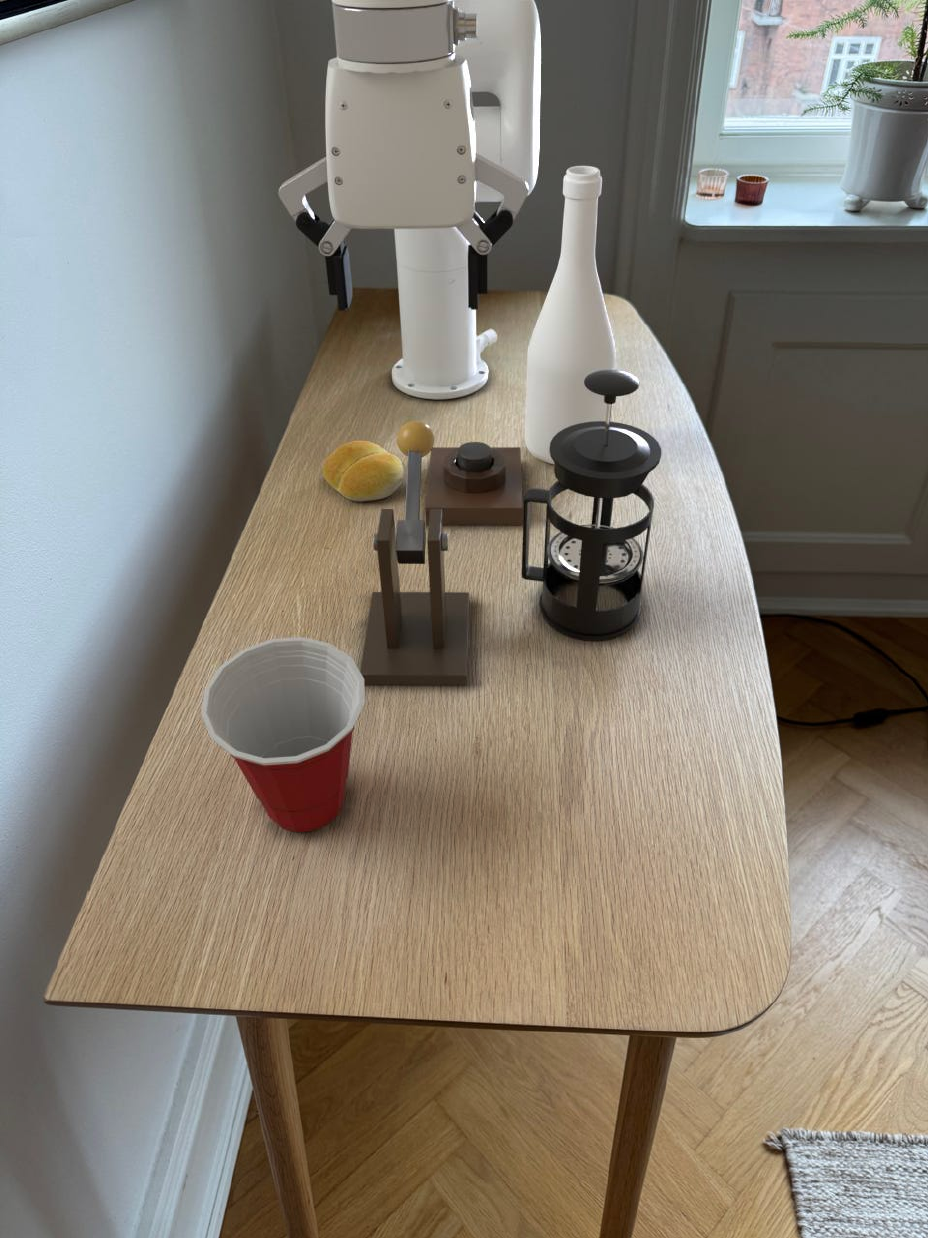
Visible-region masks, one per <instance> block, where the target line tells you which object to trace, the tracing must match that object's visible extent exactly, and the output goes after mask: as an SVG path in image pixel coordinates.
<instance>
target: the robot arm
mask: <svg viewBox="0 0 928 1238" xmlns="http://www.w3.org/2000/svg"><path fill="white" fill-rule="evenodd" d="M331 2H332V3H331V6H332V17H333V28H334V39H335V50H336V57H333V58H331V59H329V60H328V61H327V62H328V63H327V69H326V70H327V71H326V81H325V83H326V84H325V101H324V102H325V105H324V106H325V107H324V109H325V110H324V111H325V112H324V118H325V120H324V121H325V122H324V123H325V128H324V129H325V155H326V156H324V157H323V158H321V159H319V160H318V161H316V162H314V163H313V164H311V165H309V166H308V167H306V168H304V169H303V170H302V171H300V172H297V173H296V174H295V175H293V176H292V177H290V178H288V179H286V180H285V181H284V182H283V183H281V185H280V187H279V189H278V191H277V195H278V197H279V199H280V201H281V202H282V204H283V206H284V207H285V209H286V210H287V212H288V213H289V215H290V217H292V219H293V220H294V222H295V226H296V228H297V229H298V231H300V232H301V233H302V234H303V235H304V236H305V237H307V239H309V241H311V242H312V243H313V244H314V245H315V246H316V247H317V248H318V251H319V253H320V254H321V255H322V256H323V257H324V261H325V268H326V277H327V286H328V293H329V296H336V298H337V299H336V300H337V307H338V311H339V312H345V311H347V310H349V309H350V306H351V303H352V299H353V282H352V273H351V272H352V271H351V261H350V252H349V251H350V250H349V245H347V244H346V241H344V240H345V238H346V237H348V235H349V233H350V232H351V230H352V229H356V230H393V231H394V246H395V258H396V271H397V286H398V288H397V289H398V302H399V303H398V304H399V318H400V320H399V321H400V334H401V335H400V336H401V348H402V350H401V351H402V358H400V359H399V360H398V361H397V362H396V363H395V364H393V367H392V370H391V379H392V383H393V385H394V386H395V387H396V388H397V389H398V390H399V391H401V392H403V393H404V394H406V395H408V396H410V397H411V396H412V397H415V398H419V399H426V400H450V399H457V398H461V397H465V396H468V395H471V394H473V393H475V392H477V391H478V390H480V389H481V388H483V387H484V386H485V384H486V383H487V382H488V379H489V367H488V364H487V363H486V362H485V361H484V360H483V359H482V358H481V354H482V353H483V351H484V349H486V348H489V347H490V346H492V345H493V344H495V343H497V341H498V333H497V332H496V331H495V330H494V329H493V328H489V329H486V330H485V331H483V332H481V333H479V335H477V311H478V310H479V295H488V254H490V252H491V250H492V248H493V246H494V245H495V244H496V243H498V242H499V241H500V239H501V238H502V237H503V236H504V235H505V234H506V233H507V232H508V231H509V230H510V229H511V228H512V226H513V224H514V221H515V219H516V217H517V215H518V214H519V213H520V211H521V208H522V206H523V205H524V202H525V200H526V198H527V197H528V196H530V195H531V193H532V192H533V190H534V189H535V186H536V183H537V178H538V173H539V160H540V158H539V157H540V123H541V122H540V119H541V117H540V116H541V66H542V65H541V64H542V61H541V60H542V47H541V46H542V45H541V41H542V40H541V37H542V36H541V23H540V15H539V11H538V8H537V4H536V2H535V0H331ZM473 93H491V94H493V95H494V96H495V97H497V99H498V101H499V106H497V105H496V106H493V105H492V106H474V100H473V99H474V98H473ZM326 183H327V191H328V201H329V207H330V212H331V216H332V219H331V220H330V222H329V223H327V221H325V219H323V218H322V217H321V216H320V215H319V214H318V213H317V212H316V211H314V209H312V208H311V207H310V205H309V202H308V201H307V198H306V195H308V194H309V193H311V192H313V191H314V190H316V189H317V188H319V187H321V186H322V185H324V184H326ZM500 202H501V203H500ZM476 203H500V205H499V207H498V208H497V209H496V210H495V211H494V212H492V214H491V215H490V216H489V217H488V219H486V220H484V219H483V218H482V217H481V216H480V214H479V213H478V212H477V211H476Z"/></svg>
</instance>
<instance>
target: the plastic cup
mask: <svg viewBox="0 0 928 1238" xmlns="http://www.w3.org/2000/svg"><path fill="white" fill-rule="evenodd" d="M202 697H203V698H202V704H201V710H200V711H201V712H200V716H201V717H202V720H203V722H204V725H205V727H206V729H207V732H208V734H209V735H208V736H209V738H211V740H212V741H214V742H215V743H216V744H218V746H220V747H221V748H222V749H223V750H225V751H226V752H227V753H228V754H229V755H230V757H231V758H233V759H234V761H235V762H236V764H237V765H238V767H239V769H240V771H241V773H242V774H243V776H244V778H245V780H246V781H247V783H248V785H249V786H250V788H251V790H252V792H253V793H254V795H255V797H256V798H257V799H258V800H259V801H260V803H261V804H262V807H263V808H264V810H265V812H266V815H267V816H268V817H269V818H270V819H271V820H272V822H274V823H275V824H277V825H278V827H280V828H281V829H283V830H287V831H290V832H294V833H305V832H314V831H316V830H318V829H321V828H323V827H325V826H327V825H328V824H329V823H330V822H331V821H333V820H334V819H335V818H336V817H337V816H338V814H339V813H340V810H342V809H341V808H342V807H343V806H344V805H343V804H344V802H345V800H346V788H347V779H348V777H349V771H350V769H349V768H350V761H351V760H350V758H351V750H352V749H351V748H352V741H353V732H354V730H355V725H356V723H357V721H358V719H359V717H360V715H361V713H362V711H363V709H364V706H365V685H364V678H363V676H362V674H361V673H360V669H359V668H358V666H357V664H356V662H355V660H354V659H353V658H352V657H351V656H350V655H348V654H347V653H345V652H343V651H342V650H340V649H339V648H337V647H336V646H335V645H333V644H331V643H329V642H325V641H321V640H316V639H313V638H308V637H304V636H298V637H281V638H271V639H268V640H265V641H262V642H259V643H256V644H254V645H251V646H248V647H245V648H243V649H241V650H240V651H239V652H236V654H234V656H232V657H230V658H229V659H228V660H227V661H225V662H223V663H222V664H221V665H219V667H218V668H217V670H216V671H215V673H214V674H213V675H212V677H211V679H210V680H209V681H208V683H207V685H206V686H205V688H204V689H203V696H202Z"/></svg>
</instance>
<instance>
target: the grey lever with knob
mask: <svg viewBox="0 0 928 1238" xmlns="http://www.w3.org/2000/svg"><path fill="white" fill-rule="evenodd" d="M396 435H397V436H396V443H397V446H398V449H399V450H400V452H401V453H402V454H403V455H404V456H406V457H407V468H406V488H405V489H406V490H405V507H404V508H405V510H404V519H397V520H396V532H395V535H396V555H397V560H398V565H425V564H426V549H427V548H426V545H427V533H426V522H425V520H424V519H420V511H421V507H420V506H421V489H422V487H421V486H422V485H421V484H422V466H423V465H422V460H423V458H425V457H426V456H427V455H429V454H430V453H431V450H432V448H433V447H434V445H435V435H434V432H433V430H432V428H431V427H430V426H429V424H427V423H426V422H425V421H421V420H410V421H407V422H405V423H404V424H402V426H401V427H400V428H399V430H398V432H397V434H396Z"/></svg>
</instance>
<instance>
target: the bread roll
mask: <svg viewBox="0 0 928 1238" xmlns="http://www.w3.org/2000/svg"><path fill="white" fill-rule="evenodd" d="M322 475H323V477H324V479H325V482H327V484H328V485H329V486H330V487H331V488H332V489H333V490H335V491H336V492H338V493H340V495H341V496H343V497H344V498H346V499H347V500H349V501H351V502H369V501H370V502H371V501H378V500H382V499H385V498H388V497H390V496H391V495H393V494H394V493H395V492H397V491H398V490H399V488H400V487H401V485H402V484H403V481H404V476H405V473H404V466H403V463H402V460H401V459H400V458H399V457H398V456H396V455H394V454H392V453H390V452H389V453H388V452H387V451H386V450H385V449H384V448H383V447H382V446H380V445H378V444H376V443H374V442H372V441H368V440H352V441H350V442H346V443H344V444H341V445H340V446H338V447H337V448H336V449H335V450H334V451H333V452H331V453H330V454H329V455H328V457H327V458H326V460H325V462H324V463H323V467H322Z"/></svg>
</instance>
